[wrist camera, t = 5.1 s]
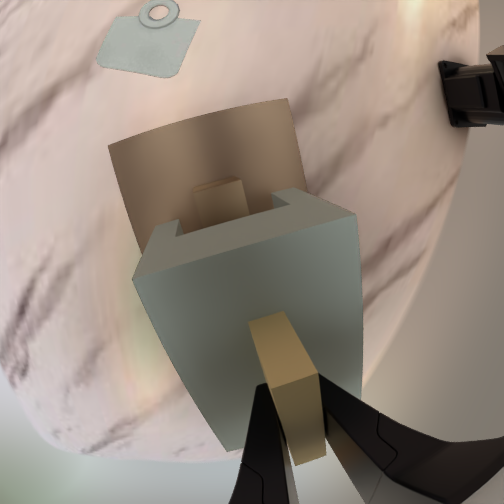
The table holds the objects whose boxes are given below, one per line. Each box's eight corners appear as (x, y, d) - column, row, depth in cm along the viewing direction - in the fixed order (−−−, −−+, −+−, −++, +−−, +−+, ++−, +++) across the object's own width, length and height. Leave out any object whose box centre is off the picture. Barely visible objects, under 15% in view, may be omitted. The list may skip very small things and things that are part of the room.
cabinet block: (293, 187, 14) (419, 245, 6) (318, 341, 18) (387, 449, 10) (155, 226, 13) (108, 341, 5) (214, 374, 17) (236, 501, 9)
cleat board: (280, 101, 17) (302, 90, 13) (322, 344, 24) (341, 372, 21) (114, 145, 16) (94, 145, 12) (204, 381, 23) (208, 415, 20)
